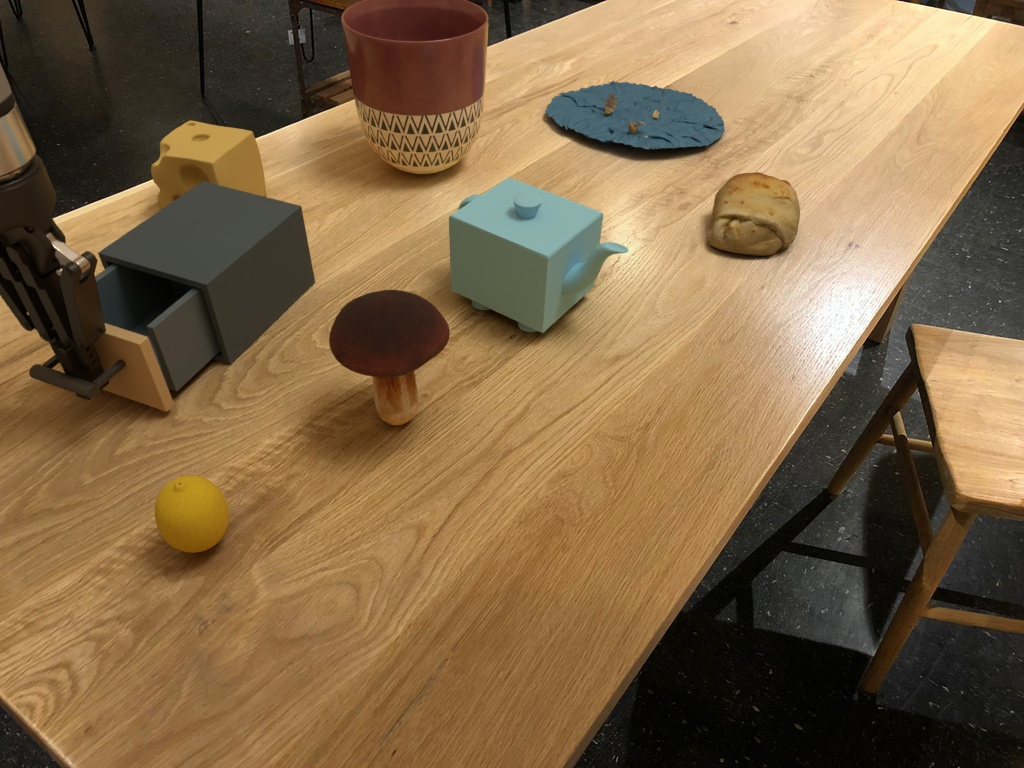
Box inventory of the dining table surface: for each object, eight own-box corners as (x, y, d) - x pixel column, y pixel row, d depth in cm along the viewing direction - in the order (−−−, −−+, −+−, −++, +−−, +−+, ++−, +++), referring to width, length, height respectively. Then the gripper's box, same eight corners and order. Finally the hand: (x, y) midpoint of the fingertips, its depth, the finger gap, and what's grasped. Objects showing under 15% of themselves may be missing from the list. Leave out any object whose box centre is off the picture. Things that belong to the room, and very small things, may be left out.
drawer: (131, 445, 72) (99, 377, 66) (30, 408, 75) (-8, 340, 69) (260, 322, 86) (243, 257, 80) (171, 295, 89) (148, 230, 83)
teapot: (433, 293, 93) (428, 191, 83) (488, 253, 99) (489, 154, 90) (588, 367, 84) (602, 261, 74) (637, 317, 90) (655, 214, 81)
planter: (407, 211, 106) (396, 53, 92) (334, 159, 117) (313, 10, 102) (513, 170, 116) (518, 21, 101) (436, 125, 126) (431, -16, 112)
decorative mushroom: (376, 475, 72) (358, 354, 61) (324, 407, 78) (300, 287, 68) (473, 427, 77) (472, 307, 66) (417, 366, 83) (407, 249, 73)
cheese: (162, 219, 103) (139, 149, 96) (208, 182, 111) (190, 115, 104) (230, 233, 101) (212, 163, 94) (272, 195, 109) (258, 127, 102)
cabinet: (230, 365, 82) (206, 284, 75) (129, 332, 86) (97, 252, 78) (315, 282, 94) (301, 205, 86) (223, 256, 97) (202, 180, 90)
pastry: (762, 202, 111) (777, 151, 105) (818, 247, 102) (837, 194, 97) (679, 220, 107) (690, 167, 101) (730, 268, 98) (745, 213, 93)
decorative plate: (545, 89, 141) (546, 60, 138) (707, 94, 141) (712, 65, 137) (544, 157, 119) (545, 124, 116) (737, 163, 119) (744, 131, 115)
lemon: (213, 578, 63) (187, 520, 58) (157, 559, 64) (126, 500, 59) (251, 527, 67) (230, 467, 62) (197, 509, 68) (172, 449, 63)
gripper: (89, 160, 59) (174, 383, 75) (-37, 129, 62) (70, 349, 78) (10, 206, 54) (119, 434, 70) (-123, 169, 57) (10, 395, 73)
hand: (93, 389), depth 74 cm, fingers closed
